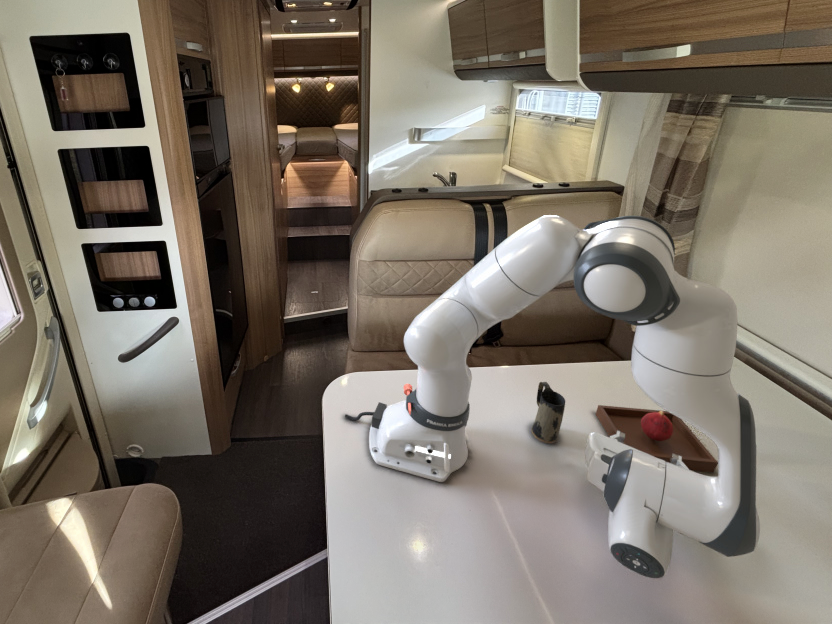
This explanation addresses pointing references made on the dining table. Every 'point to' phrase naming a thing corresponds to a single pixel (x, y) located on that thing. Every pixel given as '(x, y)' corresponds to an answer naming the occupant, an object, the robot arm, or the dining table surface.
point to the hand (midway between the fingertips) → (647, 445)
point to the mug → (548, 414)
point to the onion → (657, 426)
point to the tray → (678, 443)
